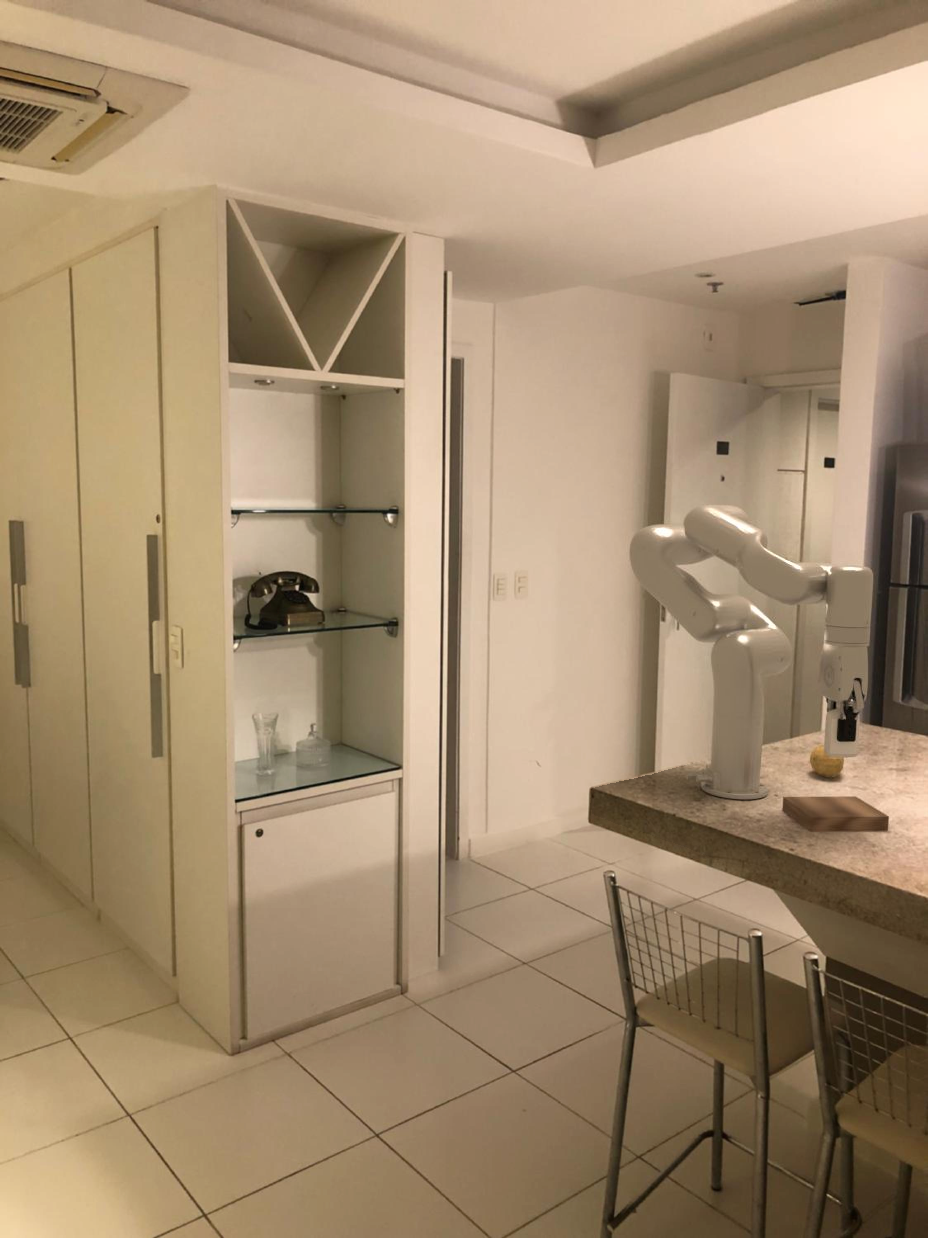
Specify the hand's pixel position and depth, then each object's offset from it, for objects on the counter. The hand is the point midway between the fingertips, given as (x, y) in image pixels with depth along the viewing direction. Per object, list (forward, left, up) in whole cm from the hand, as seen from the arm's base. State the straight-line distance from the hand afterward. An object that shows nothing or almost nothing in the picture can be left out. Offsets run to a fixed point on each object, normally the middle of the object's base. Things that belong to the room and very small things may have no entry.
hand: (840, 737), depth 181 cm
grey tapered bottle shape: (0, 0, -3) cm, 3 cm away
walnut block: (0, 0, -16) cm, 16 cm away
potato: (+12, +30, -15) cm, 36 cm away
